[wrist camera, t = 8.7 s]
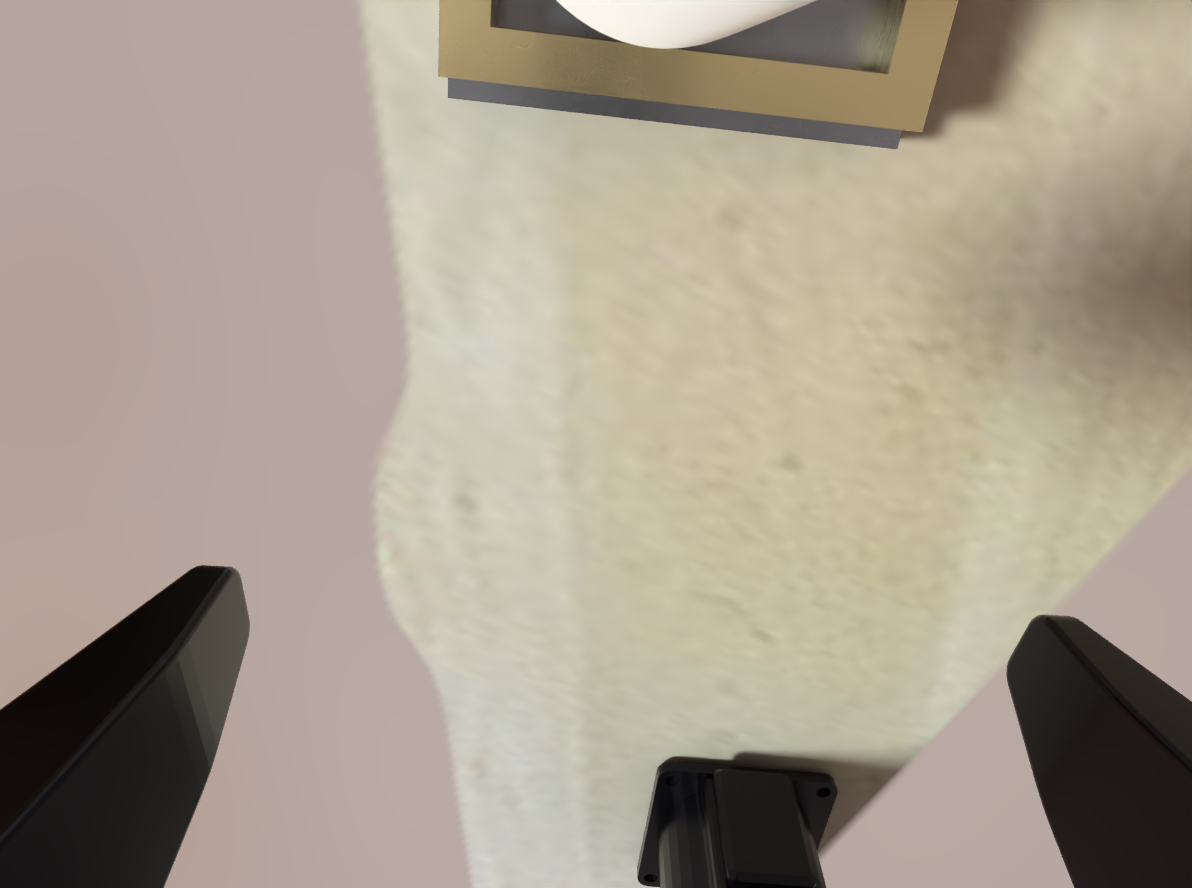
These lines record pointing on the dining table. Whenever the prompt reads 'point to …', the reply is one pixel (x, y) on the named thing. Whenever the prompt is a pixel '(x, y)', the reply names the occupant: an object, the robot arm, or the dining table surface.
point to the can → (675, 19)
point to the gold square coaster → (711, 68)
